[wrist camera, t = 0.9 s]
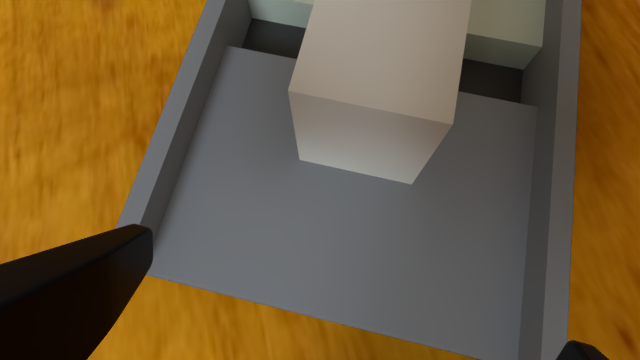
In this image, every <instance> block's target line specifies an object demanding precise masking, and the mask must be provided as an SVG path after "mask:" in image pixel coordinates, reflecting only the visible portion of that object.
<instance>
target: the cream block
mask: <svg viewBox="0 0 640 360" xmlns="http://www.w3.org/2000/svg"><path fill="white" fill-rule="evenodd" d="M471 1H472V0H315V1H314V5H313V8H312V11H311V15H310V18H309V21H308V25H307V28H306V31H305V35H304V38H303V41H302V45H301V48H300V51H299V55H298V58H297V61H296V65H295V68H294V71H293V75H292V78H291V82H290V85H289V88H288V95H289V101H290V107H291V113H292V119H293V124H294V130H295V136H296V142H297V148H298V154H299V160H303V161H307V162H312V163H316V164H321V165H325V166H330V167H334V168H339V169H344V170H348V171H353V172H357V173H362V174H366V175H371V176H375V177H380V178H385V179H389V180H394V181H398V182H403V183H407V184H412V183H413V182H414V180H415V179H416V177H417V176H418V175H419V173H420V172H421V170H422V169H423V167H424V166H425V164H426V163H427V162H428V160H429V159H430V157H431V156H432V154H433V153H434V151H435V150H436V148H437V147H438V146H439V144H440V143H441V141H442V140H443V138H444V137H445V135H446V134H447V133H448V131H449V130H450V128H451V127H452V125H453V121H454V115H455V108H456V101H457V94H458V88H459V81H460V74H461V68H462V61H463V54H464V48H465V41H466V34H467V27H468V21H469V14H470V7H471Z"/></svg>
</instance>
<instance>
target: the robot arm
mask: <svg viewBox="0 0 640 360" xmlns="http://www.w3.org/2000/svg"><path fill="white" fill-rule="evenodd" d="M152 262H153V231H152V229H151V228H149V227H146V226H143V225H139V224H130V225H126V226H123V227H120V228H117V229H113V230H110V231H107V232H104V233H100V234H97V235H94V236H91V237H87V238H84V239H81V240H78V241H74V242H71V243H68V244H65V245H62V246H58V247H55V248H52V249H49V250H45V251H42V252H39V253H36V254H32V255H29V256H26V257H23V258H19V259H16V260H13V261H10V262H6V263H3V264H0V360H87V359H88V358H89V356H90V355H91V354H92V352H93V351H94V350H95V349H96V347H97V346H98V345H99V344H100V342H101V341H102V340H103V339H104V337H105V336H106V335H107V333H108V332H109V331H110V329H111V328H112V327H113V325H114V324H115V322H116V321H117V319H118V318H119V316H120V315H121V313H122V312H123V310H124V308H125V307H126V305H127V304H128V302H129V301H130V299H131V297H132V296H133V294H134V293H135V291H136V290H137V288H138V286H139V285H140V283H141V282H142V280H143V278H144V277H145V275H146V274H147V272H148V271H149V269H150V267H151V265H152ZM556 360H609V359H608V358H607V357H605V356H604V355H603V354H602V353H601V352H600V351H599V350H597V349H596V348H595V347H594V346H592V345H589V344H586V343H582V342H578V341H574V340H572V341H569V342H567V343H566V344H565V346H564V347H563V349H562V350H561V352H560V353H559V355H558V357H557V358H556Z"/></svg>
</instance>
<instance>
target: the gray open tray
mask: <svg viewBox="0 0 640 360" xmlns="http://www.w3.org/2000/svg"><path fill="white" fill-rule="evenodd" d="M314 1H315V0H207V2H206V4H205V7H204V9H203V12H202V14H201V17H200V19H199V22H198V24H197V27H196V29H195V32H194V34H193V37H192V39H191V42H190V44H189V47H188V49H187V52H186V54H185V57H184V59H183V62H182V64H181V66H180V69H179V71H178V74H177V76H176V79H175V81H174V84H173V86H172V89H171V91H170V94H169V96H168V99H167V101H166V104H165V106H164V109H163V111H162V114H161V116H160V119H159V121H158V124H157V126H156V129H155V131H154V134H153V136H152V139H151V141H150V144H149V146H148V149H147V151H146V154H145V156H144V159H143V161H142V164H141V166H140V169H139V171H138V174H137V176H136V179H135V181H134V184H133V186H132V189H131V191H130V194H129V196H128V199H127V201H126V204H125V206H124V209H123V211H122V214H121V216H120V218H119V221H118V223H117V226H116V228H115V229H117V228H120V227H123V226H126V225H130V224H139V225H143V226H146V227H149V228H151V229H152V231H153V262H152V265H151V267H150V269H149V271H148V272H147V274H146V275H149V276H153V277H156V278H160V279H164V280H168V281H172V282H176V283H180V284H184V285H188V286H192V287H196V288H200V289H204V290H208V291H212V292H216V293H220V294H224V295H228V296H232V297H236V298H240V299H243V300H247V301H251V302H255V303H259V304H263V305H267V306H271V307H275V308H279V309H283V310H287V311H291V312H295V313H299V314H303V315H307V316H311V317H315V318H319V319H323V320H327V321H330V322H334V323H338V324H342V325H346V326H350V327H354V328H358V329H362V330H366V331H370V332H374V333H378V334H382V335H386V336H390V337H394V338H398V339H402V340H406V341H410V342H414V343H417V344H421V345H425V346H429V347H433V348H437V349H441V350H445V351H449V352H453V353H457V354H461V355H465V356H469V357H473V358H477V359H481V360H556V358H557V357H558V355H559V353H560V352H561V350H562V349H563V347H564V346H565V344H566V343H567V334H568V311H569V288H570V265H571V243H572V220H573V197H574V174H575V151H576V128H577V105H578V83H579V60H580V37H581V14H582V0H472V1H471V7H470V14H469V21H468V27H467V34H466V41H465V48H464V54H463V61H462V68H461V74H460V81H459V88H458V94H457V101H456V108H455V115H454V121H453V125H452V127H451V128H450V130H449V131H448V133H447V134H446V135H445V137H444V138H443V140H442V141H441V143H440V144H439V146H438V147H437V148H436V150H435V151H434V153H433V154H432V156H431V157H430V159H429V160H428V162H427V163H426V164H425V166H424V167H423V169H422V170H421V172H420V173H419V175H418V176H417V177H416V179H415V180H414V182H413V183H412V184H407V183H403V182H398V181H394V180H389V179H385V178H380V177H375V176H371V175H366V174H362V173H357V172H353V171H348V170H344V169H339V168H334V167H330V166H325V165H321V164H316V163H312V162H307V161H303V160H299V154H298V148H297V142H296V136H295V130H294V124H293V119H292V113H291V107H290V101H289V95H288V88H289V85H290V82H291V78H292V75H293V71H294V68H295V65H296V61H297V58H298V55H299V51H300V48H301V45H302V41H303V38H304V35H305V31H306V28H307V25H308V21H309V18H310V15H311V11H312V8H313V5H314Z"/></svg>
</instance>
